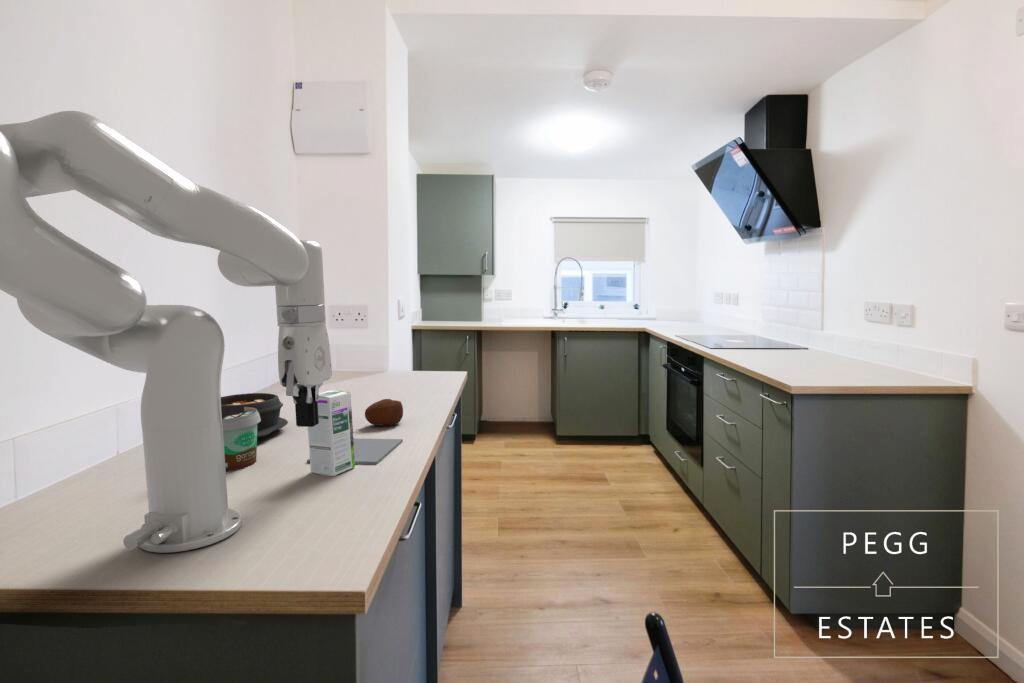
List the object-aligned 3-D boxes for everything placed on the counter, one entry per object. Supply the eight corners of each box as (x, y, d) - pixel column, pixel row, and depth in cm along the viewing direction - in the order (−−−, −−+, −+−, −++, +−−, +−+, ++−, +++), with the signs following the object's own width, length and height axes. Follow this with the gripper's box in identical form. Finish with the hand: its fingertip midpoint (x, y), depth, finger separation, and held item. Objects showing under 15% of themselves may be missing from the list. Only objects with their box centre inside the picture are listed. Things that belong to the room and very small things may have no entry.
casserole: (285, 444, 126) (283, 406, 125) (189, 453, 120) (186, 413, 119) (290, 419, 150) (289, 386, 149) (210, 425, 144) (208, 392, 143)
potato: (406, 426, 139) (405, 400, 139) (366, 430, 136) (365, 403, 136) (401, 420, 146) (400, 395, 145) (363, 424, 143) (362, 398, 142)
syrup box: (334, 477, 103) (330, 396, 102) (309, 473, 106) (305, 394, 105) (355, 467, 109) (352, 391, 107) (331, 464, 111) (327, 389, 110)
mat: (376, 464, 110) (376, 461, 110) (307, 462, 112) (306, 460, 112) (402, 441, 126) (402, 439, 126) (341, 440, 128) (341, 438, 128)
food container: (235, 476, 105) (232, 421, 104) (206, 474, 106) (202, 420, 105) (276, 456, 117) (273, 407, 116) (249, 454, 118) (246, 406, 117)
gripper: (301, 319, 88) (307, 437, 90) (342, 313, 103) (347, 415, 105) (254, 319, 89) (262, 437, 91) (301, 314, 104) (307, 415, 105)
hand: (307, 425), depth 98 cm, fingers closed
